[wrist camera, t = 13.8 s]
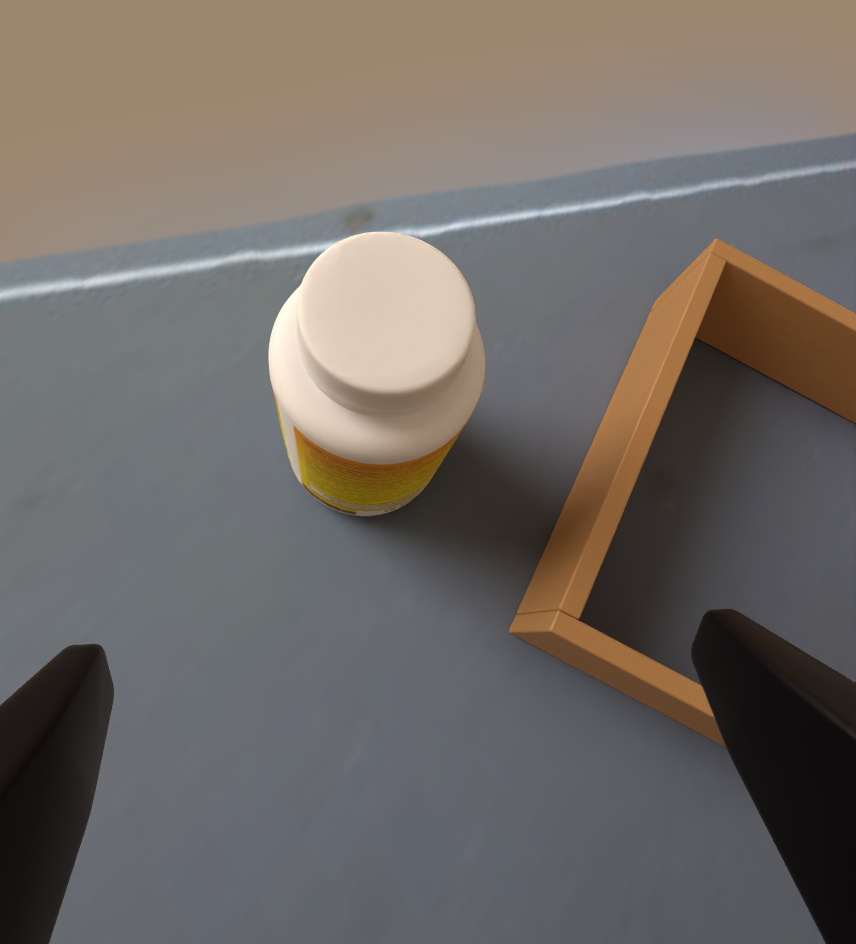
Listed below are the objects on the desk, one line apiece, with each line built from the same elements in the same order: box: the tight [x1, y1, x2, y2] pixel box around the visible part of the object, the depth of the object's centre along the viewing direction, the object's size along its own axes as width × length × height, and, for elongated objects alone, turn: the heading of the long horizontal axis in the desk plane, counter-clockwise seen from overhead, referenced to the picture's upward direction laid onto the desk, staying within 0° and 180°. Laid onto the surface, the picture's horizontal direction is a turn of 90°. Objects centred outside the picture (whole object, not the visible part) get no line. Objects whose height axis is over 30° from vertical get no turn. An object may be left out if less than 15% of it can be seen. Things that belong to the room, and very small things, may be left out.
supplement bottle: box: [269, 232, 485, 516], centre depth 19 cm, size 6×6×10 cm
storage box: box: [509, 239, 856, 748], centre depth 23 cm, size 15×14×4 cm
